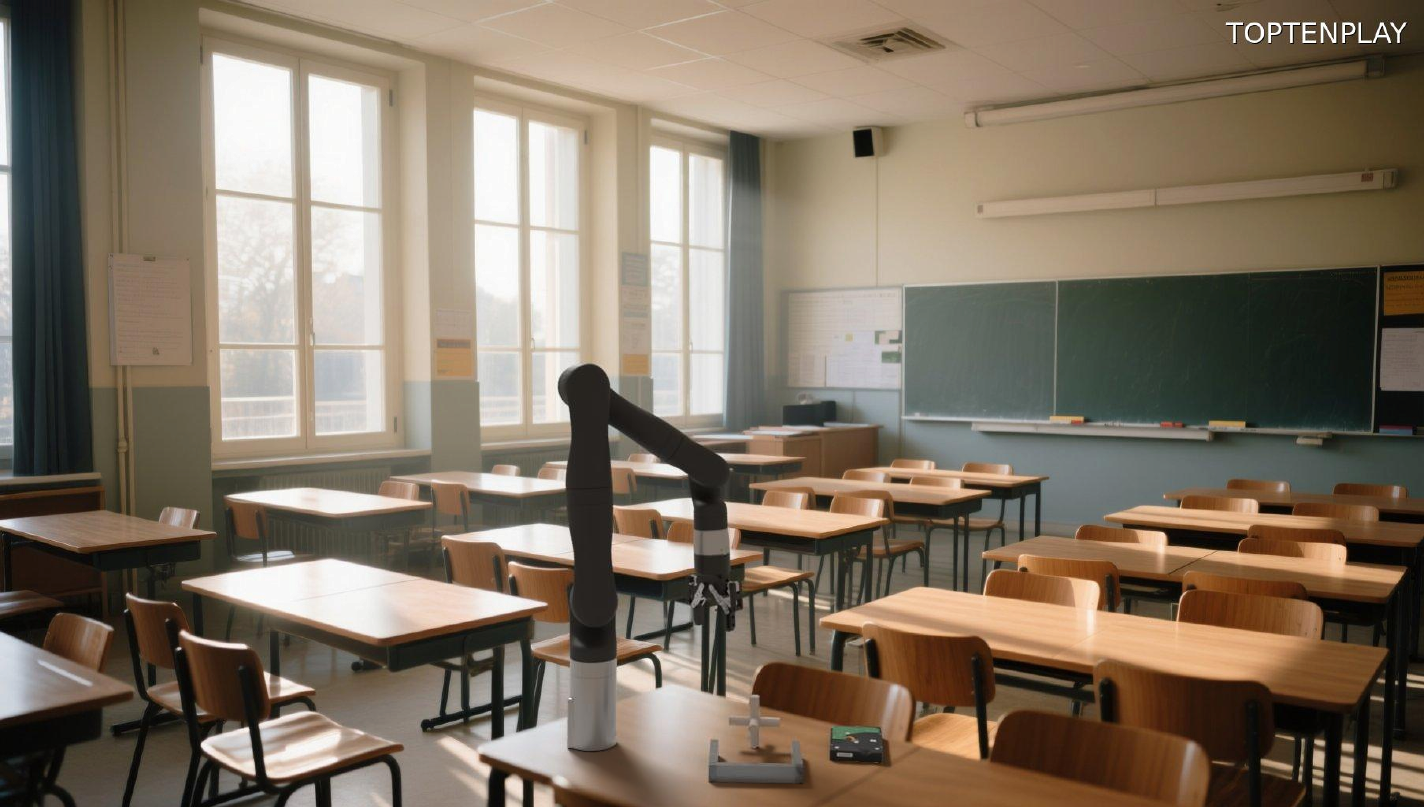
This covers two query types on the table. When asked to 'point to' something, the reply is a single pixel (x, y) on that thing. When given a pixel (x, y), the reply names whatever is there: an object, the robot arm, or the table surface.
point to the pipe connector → (754, 721)
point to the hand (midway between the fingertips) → (714, 628)
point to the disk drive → (856, 744)
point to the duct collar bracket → (756, 769)
